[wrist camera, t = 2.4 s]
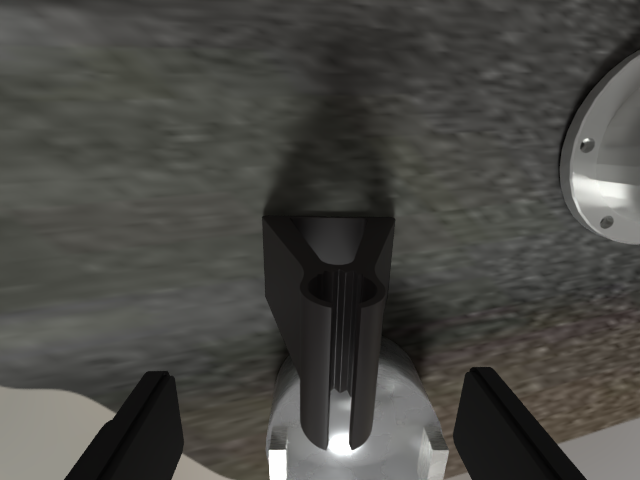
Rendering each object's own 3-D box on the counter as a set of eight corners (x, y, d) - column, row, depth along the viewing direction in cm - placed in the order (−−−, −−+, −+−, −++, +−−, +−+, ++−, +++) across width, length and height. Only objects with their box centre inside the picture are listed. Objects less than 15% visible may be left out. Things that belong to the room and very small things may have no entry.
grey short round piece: (427, 330, 23) (468, 398, 17) (409, 444, 27) (438, 535, 21) (273, 328, 23) (258, 397, 17) (276, 444, 27) (265, 535, 21)
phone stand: (394, 217, 21) (492, 309, 9) (386, 295, 23) (459, 452, 11) (263, 214, 20) (198, 304, 9) (265, 293, 22) (214, 451, 11)
